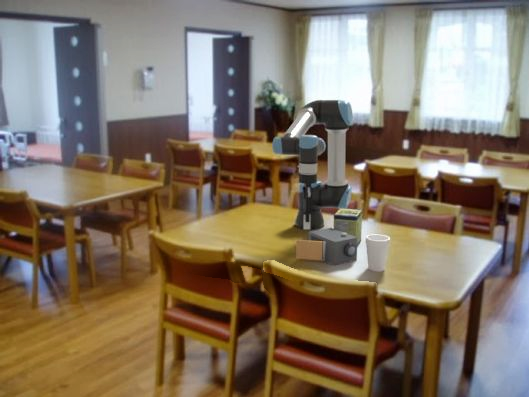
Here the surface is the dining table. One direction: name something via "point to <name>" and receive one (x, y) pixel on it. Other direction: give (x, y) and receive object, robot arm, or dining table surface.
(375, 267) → the foam cup
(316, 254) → the side door
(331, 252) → the camera body
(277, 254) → the dining table surface
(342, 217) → the protein box
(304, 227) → the robot arm
